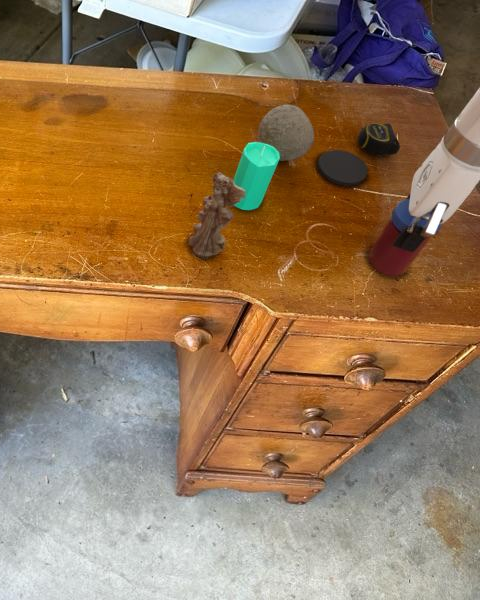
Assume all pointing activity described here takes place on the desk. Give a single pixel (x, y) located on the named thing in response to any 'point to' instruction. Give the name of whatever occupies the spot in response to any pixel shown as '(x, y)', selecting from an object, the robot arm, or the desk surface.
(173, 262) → the desk surface
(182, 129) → the desk surface
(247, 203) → the candle
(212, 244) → the figurine
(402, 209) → the jam lid
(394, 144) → the tape measure
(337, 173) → the coaster
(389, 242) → the jam jar
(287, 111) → the decorative stone
